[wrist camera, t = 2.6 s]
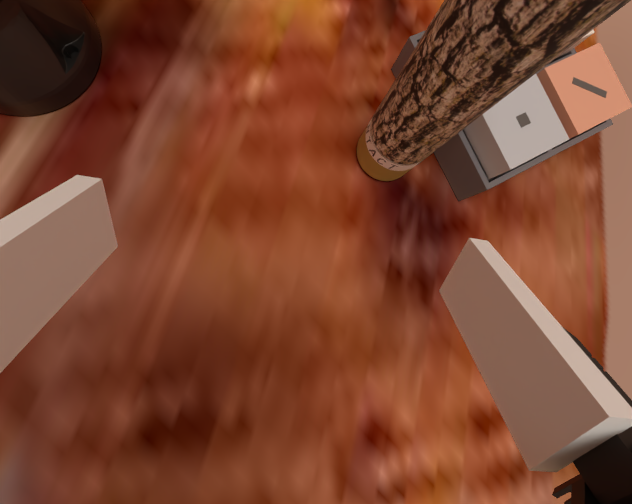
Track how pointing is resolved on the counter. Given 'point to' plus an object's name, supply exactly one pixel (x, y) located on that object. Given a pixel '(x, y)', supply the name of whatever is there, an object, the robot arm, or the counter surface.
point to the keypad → (461, 156)
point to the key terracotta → (584, 90)
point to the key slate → (516, 129)
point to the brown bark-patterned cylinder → (468, 72)
